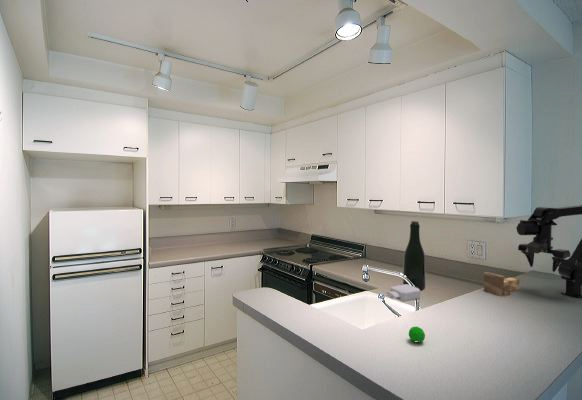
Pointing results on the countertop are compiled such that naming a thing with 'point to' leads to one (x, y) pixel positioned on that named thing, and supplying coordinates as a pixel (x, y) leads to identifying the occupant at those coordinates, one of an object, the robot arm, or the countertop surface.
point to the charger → (404, 293)
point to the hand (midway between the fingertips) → (542, 269)
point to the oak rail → (512, 283)
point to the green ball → (416, 334)
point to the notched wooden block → (495, 284)
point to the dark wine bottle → (415, 259)
